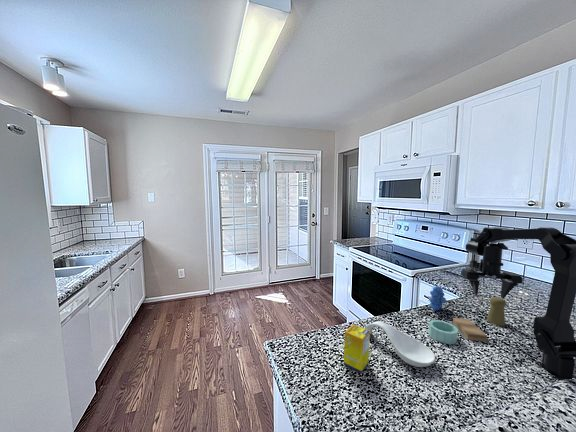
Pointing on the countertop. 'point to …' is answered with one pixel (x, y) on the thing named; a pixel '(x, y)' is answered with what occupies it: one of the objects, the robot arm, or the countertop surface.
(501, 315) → the olive brown pear
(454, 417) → the countertop surface
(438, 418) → the countertop surface
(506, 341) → the countertop surface
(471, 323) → the tan wooden plank
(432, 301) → the grapes
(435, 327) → the bowl
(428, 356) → the spoon rest
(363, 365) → the supplement box
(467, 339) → the mat
